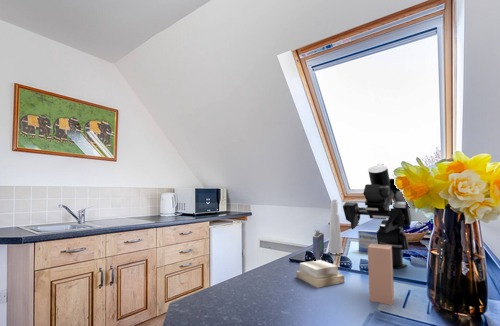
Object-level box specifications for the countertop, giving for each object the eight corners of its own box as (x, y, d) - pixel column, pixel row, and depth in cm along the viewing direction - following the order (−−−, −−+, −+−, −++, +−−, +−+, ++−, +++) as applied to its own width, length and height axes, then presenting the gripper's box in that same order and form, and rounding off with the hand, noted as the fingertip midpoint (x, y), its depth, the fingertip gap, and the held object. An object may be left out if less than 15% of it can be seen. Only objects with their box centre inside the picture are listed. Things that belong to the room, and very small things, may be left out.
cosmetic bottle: (337, 255, 115) (335, 200, 117) (325, 252, 120) (323, 199, 122) (346, 253, 119) (344, 199, 121) (333, 250, 124) (332, 199, 125)
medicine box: (358, 251, 122) (357, 230, 123) (359, 249, 126) (359, 229, 126) (378, 253, 118) (378, 232, 119) (379, 251, 122) (378, 230, 123)
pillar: (372, 294, 75) (370, 243, 76) (393, 297, 73) (391, 245, 74) (369, 300, 71) (367, 247, 72) (392, 304, 68) (389, 249, 69)
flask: (318, 261, 107) (318, 232, 108) (311, 260, 108) (310, 231, 109) (325, 255, 115) (324, 228, 116) (317, 255, 116) (317, 228, 117)
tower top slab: (320, 267, 92) (320, 259, 93) (338, 274, 85) (337, 266, 85) (299, 271, 89) (299, 262, 89) (316, 278, 82) (316, 269, 82)
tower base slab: (322, 274, 93) (322, 266, 93) (344, 284, 84) (344, 275, 84) (296, 279, 89) (296, 271, 89) (317, 289, 80) (316, 280, 80)
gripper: (347, 179, 97) (330, 204, 86) (409, 178, 85) (399, 207, 74) (354, 207, 100) (338, 234, 89) (414, 210, 88) (405, 242, 77)
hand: (367, 229), depth 82 cm, fingers open, 9 cm apart
